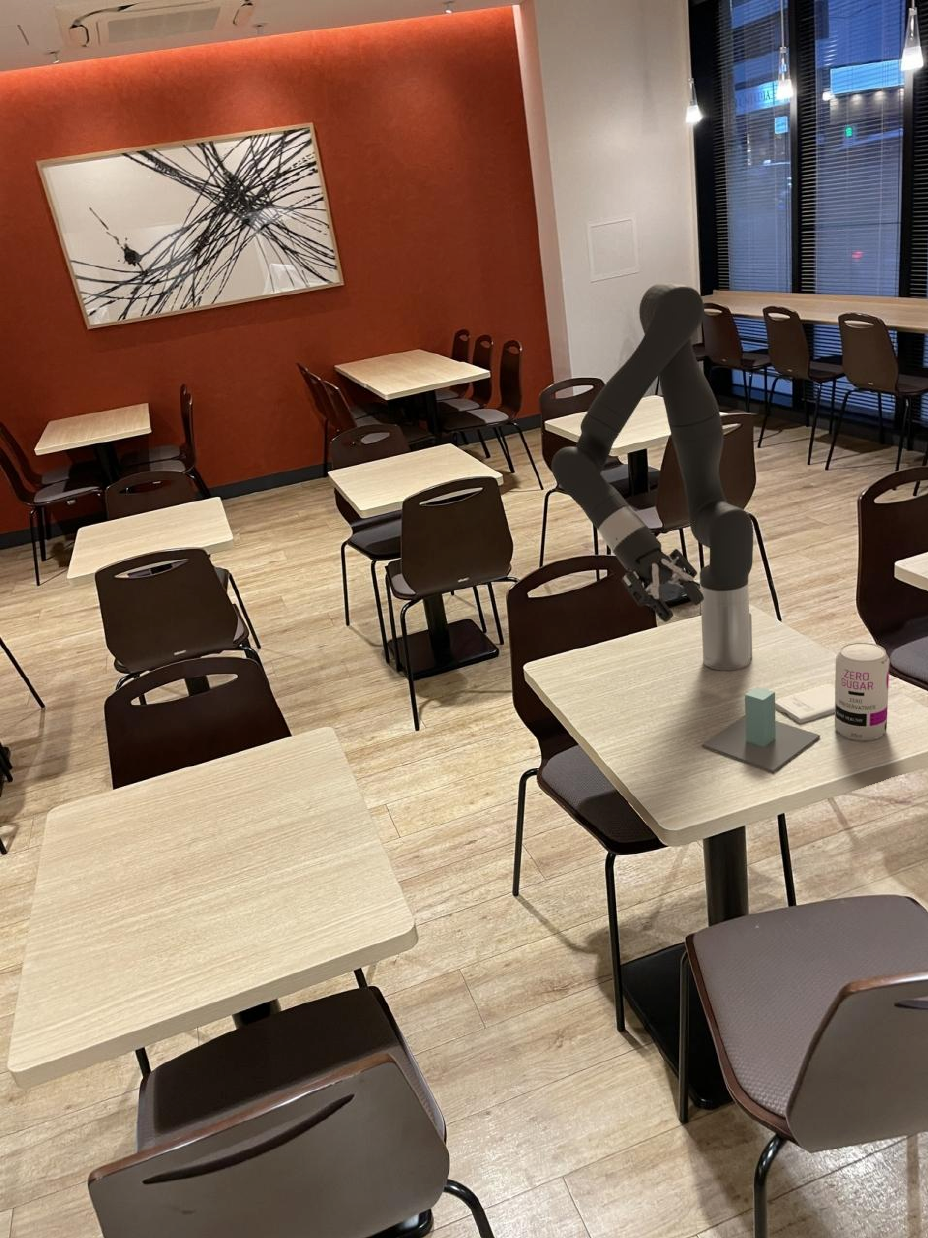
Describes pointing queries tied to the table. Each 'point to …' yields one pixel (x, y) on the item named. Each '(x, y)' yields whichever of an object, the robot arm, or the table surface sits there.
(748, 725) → the teal block
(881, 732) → the supplement can
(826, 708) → the external hard drive
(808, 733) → the gray mat
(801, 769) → the table surface
